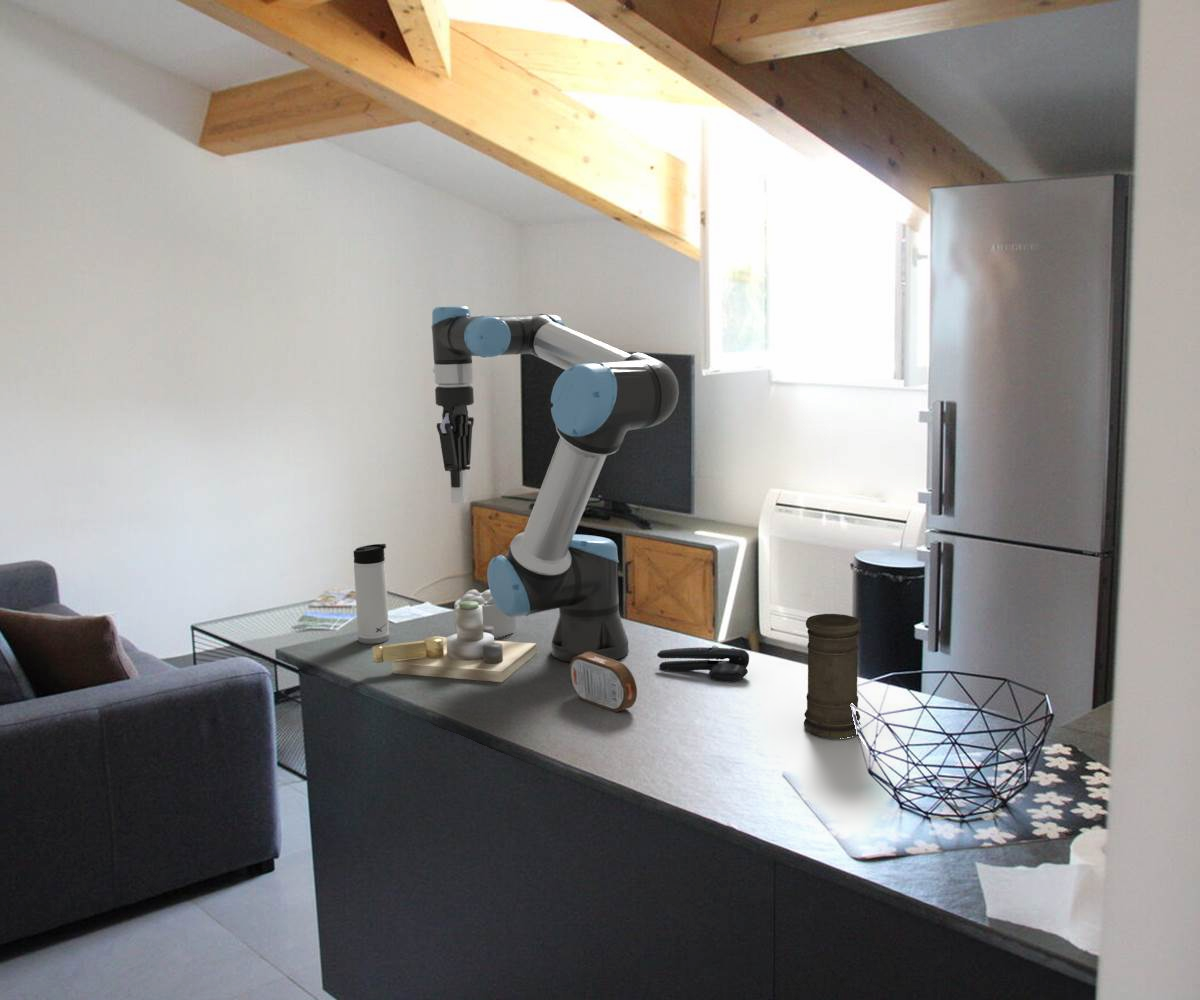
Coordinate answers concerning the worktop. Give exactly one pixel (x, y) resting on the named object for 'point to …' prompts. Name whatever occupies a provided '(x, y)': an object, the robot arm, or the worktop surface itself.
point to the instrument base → (469, 667)
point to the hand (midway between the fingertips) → (459, 502)
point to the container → (832, 675)
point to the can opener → (708, 662)
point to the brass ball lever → (409, 650)
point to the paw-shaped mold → (490, 613)
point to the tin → (603, 681)
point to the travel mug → (371, 594)
